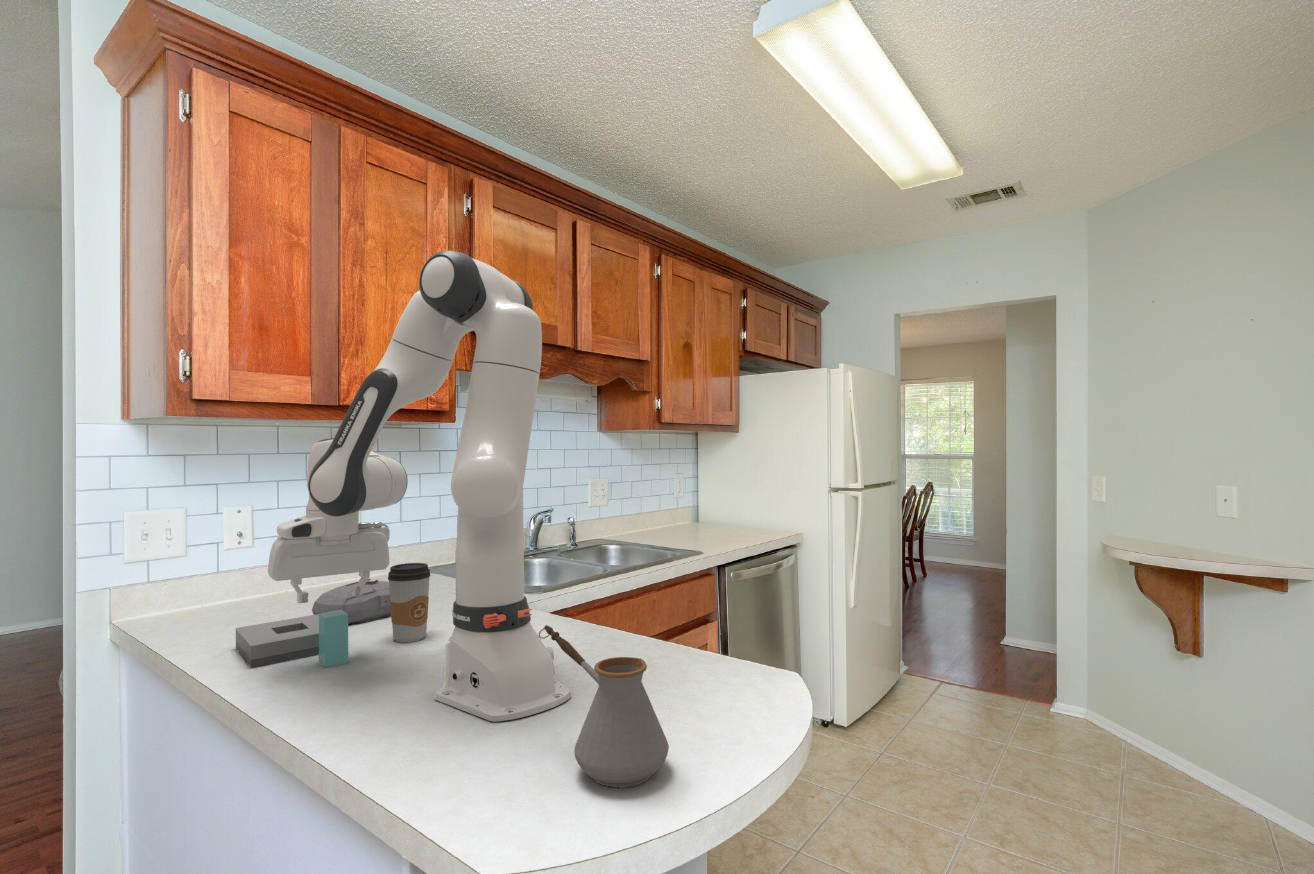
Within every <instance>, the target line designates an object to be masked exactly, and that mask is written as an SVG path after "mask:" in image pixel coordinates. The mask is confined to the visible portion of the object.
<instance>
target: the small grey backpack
mask: <svg viewBox="0 0 1314 874" xmlns="http://www.w3.org/2000/svg"><path fill="white" fill-rule="evenodd" d="M371 579H372V578H369V579H368V580H367V582H366V584H365V585H364V586H363V595H361V596H353V595H352V591H353V589H352V586H355V585H357V584H358V582H359V581H355V582H351V583H347V584H344V585H341V586H337V587H334V588H332V589H330V590H327V591H326V592H325V591H324V592H323V593H321V594H320V596H318V597H317V598H316V600H315V601H314V603H313V606H312V608H311V611H312V615H316V614H320V613H326V612H332V611H338V610H343V611H344V612H346V613H348V625H354V624H361V623H366V622H370V621H374V620H379V619H382V618H385V617H386V618H387V617H388V616H391V607H390V589H389V581H386V580H385V581H383V580H382V581H381V580H378V579H376V580H371Z"/></svg>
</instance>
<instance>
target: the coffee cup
mask: <svg viewBox="0 0 1314 874" xmlns="http://www.w3.org/2000/svg"><path fill="white" fill-rule="evenodd" d="M430 571H431V569H429V565H428V563H424V562H408V563H399V564H396V565H392V566H390V567H389V572H388V577H387V580H388V582H389V589H390V607H391V615H390V616H391V625H392V636H393V639H394V641H395V642H397V643H402V644H405V643H408V644H409V643H414V642H415V643H416V642H419V641H421V640H424V639H425V636H426V635H427V629H428V627H427V625H428V616H429V602H430V599H429V598H430V597H429V593H430V590H429V589H430V578H431V572H430Z"/></svg>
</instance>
